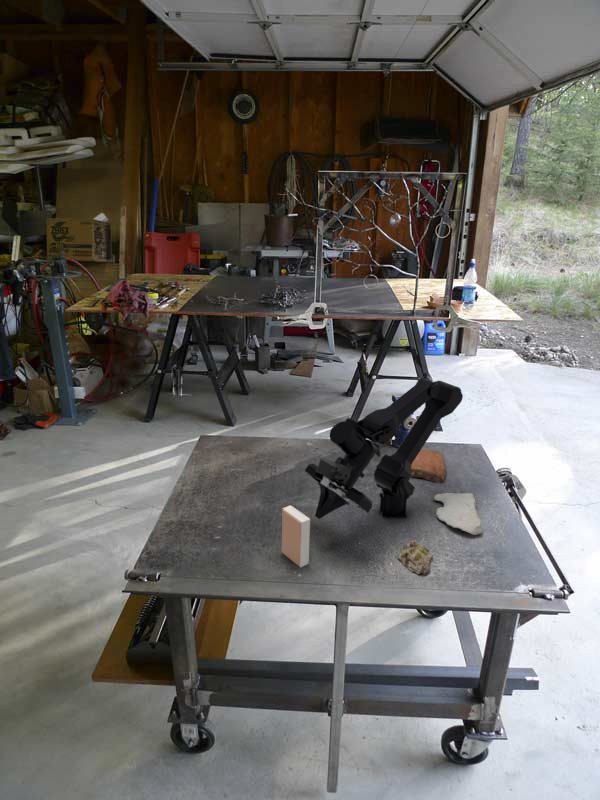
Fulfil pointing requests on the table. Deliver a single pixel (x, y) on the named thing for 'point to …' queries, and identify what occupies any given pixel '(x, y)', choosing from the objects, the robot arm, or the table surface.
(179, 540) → the table surface
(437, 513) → the stone
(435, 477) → the ceramic shard
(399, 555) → the mineral rock
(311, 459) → the table surface
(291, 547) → the tile
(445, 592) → the table surface
